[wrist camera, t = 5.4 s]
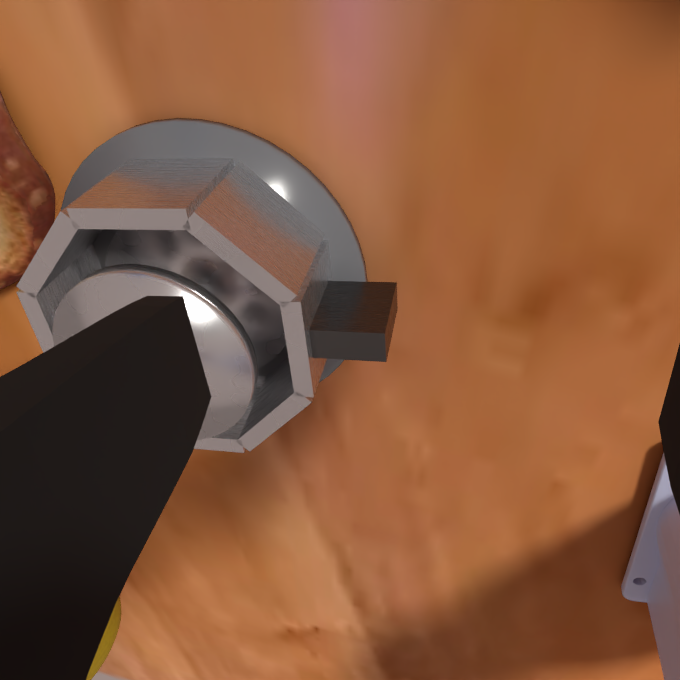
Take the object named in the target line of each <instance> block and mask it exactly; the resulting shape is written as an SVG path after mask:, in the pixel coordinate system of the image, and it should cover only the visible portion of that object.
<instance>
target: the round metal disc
mask: <svg viewBox="0 0 680 680" xmlns="http://www.w3.org/2000/svg"><path fill="white" fill-rule="evenodd" d="M183 158H233V161H234V166H236V165H237V163H238V162H239V161H241V162H242V163H243V164H245V165H246V166H247V167H248V168H249V169H250V170H252V171H253V172H254V173H255V174H256V175H257V176H259V177H260V178H261V179H262V180H263V181H264V182H265V183H267V184H268V185H269V186H270V187H271V188H272V189H274V190H275V191H276V192H277V193H278V194H279V195H281V196H282V197H283V198H284V199H285V200H286V201H287V202H289V203H290V204H291V205H292V206H293V207H294V208H296V209H297V210H298V211H299V212H300V213H301V214H303V215H304V216H305V217H306V218H307V219H308V220H309V221H311V222H312V223H313V224H314V225H315V226H316V227H318V228H319V229H320V230H321V231H322V232H323V233H325V235H324V238H323V240H328V241H329V251H330V261H331V271H332V281H356V282H367V274H366V267H365V261H364V257H363V254H362V250H361V247H360V243H359V241H358V238H357V236H356V234H355V232H354V229H353V227H352V225H351V223H350V221H349V219H348V218H347V216H346V214H345V213H344V211H343V209H342V208H341V206H340V204H339V203H338V202H337V200H336V199H335V198H334V197H333V195H332V194H331V193H330V191H329V190H328V189H327V188H326V186H325V185H324V184H323V183H322V182H321V181H320V180H319V179H318V178H317V177H316V176H315V175H314V174H313V173H312V172H311V171H310V170H309V169H308V168H307V167H305V166H304V165H303V164H302V163H300V162H299V161H298V160H296V159H295V158H294V157H293V156H291V155H290V154H289V153H287V152H286V151H284V150H282V149H281V148H279V147H277V146H276V145H274V144H273V143H271V142H269V141H268V140H265V139H263V138H261V137H259V136H257V135H255V134H252V133H250V132H248V131H246V130H243V129H239V128H236V127H233V126H230V125H227V124H224V123H219V122H213V121H208V120H202V119H186V118H174V119H164V120H155V121H152V122H148V123H144V124H140V125H136V126H134V127H132V128H130V129H127V130H125V131H123V132H121V133H118V134H117V135H115V136H114V137H112V138H111V139H109V140H108V141H106V142H105V143H103V144H102V145H101V146H99V147H98V148H96V149H95V150H94V151H93V152H92V153H91V154H90V155H89V156H88V157H87V158H86V159H85V160H84V161H83V162H82V164H81V165H80V167H79V168H78V169H77V171H76V172H75V174H74V175H73V177H72V179H71V181H70V183H69V186H68V188H67V190H66V192H65V196H64V200H63V204H62V207H61V211H62V210H63V209H64V208H65V207H67V206H68V205H69V204H71V203H72V202H73V201H75V200H76V199H77V198H79V197H80V196H81V195H82V194H84V193H85V192H86V191H88V190H89V189H90V188H92V187H93V186H94V185H96V184H97V183H98V182H99V181H101V180H102V179H103V178H105V177H106V176H107V175H109V174H110V173H111V172H113V171H114V170H115V169H117V168H118V167H119V166H120V165H122V164H123V163H124V162H127V161H129V160H130V159H183ZM343 360H344V359H327V360H326V363H325V366H324V369H323V372H322V375H321V377H320V380H319V382H321V381H322V380H323V379H325V378H326V377H328V376H329V375H330V374H331V373H332V372H333V371H334V370H335V369H336V368H337V367H338V366H340V364H341V363H342V362H343Z"/></svg>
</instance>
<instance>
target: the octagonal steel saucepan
mask: <svg viewBox="0 0 680 680" xmlns="http://www.w3.org/2000/svg"><path fill="white" fill-rule="evenodd" d="M119 229H123V230H187V231H188V232H189V233H190V234H192V235H193V236H194V237H195V238H197V239H198V240H199V241H200V242H202V243H203V244H204V245H205V246H207V247H208V248H209V249H210V250H212V251H213V252H214V253H215V254H217V255H218V256H219V257H220V258H222V259H223V260H224V261H225V262H227V263H228V264H229V265H230V266H232V267H233V268H234V269H235V270H237V271H238V272H239V273H240V274H241V275H243V276H244V277H245V278H246V279H248V280H249V281H250V282H251V283H253V284H254V285H255V286H256V287H258V288H259V289H260V290H261V291H263V292H264V293H265V294H266V295H268V296H269V297H270V298H271V299H273V300H274V301H275V302H276V303H278V304H279V305H280V308H281V315H282V321H283V327H284V333H285V339H286V345H285V346H284V348H283V349H282V351H281V352H280V353H279V354H278V355H277V356H276V357H275V358H274V359H273V360H271V361H270V362H269V363H268V364H266V365H264V366H262V367H260V368H259V369H258V380H257V385H256V389H255V392H254V394H253V396H252V399H251V401H250V403H249V405H248V407H247V409H246V411H245V413H244V414H243V416H242V417H241V419H240V420H239V421H238V422H237V423H236V424H235V425H234V426H232V427H231V428H230V429H228V430H227V431H225V432H223V433H221V434H219V435H217V436H214V437H211V438H207V439H202V440H197V441H196V444H195V446H194V449H205V450H216V451H228V452H239V453H245V450H246V449H247V450H248V451H251V450H253V449H254V448H255V447H256V446H258V445H259V444H260V443H261V442H263V441H264V440H265V439H266V438H268V437H269V436H270V435H271V434H273V433H274V432H275V431H276V430H278V429H279V428H280V427H281V426H283V425H284V424H285V423H286V422H288V421H289V420H290V419H291V418H293V417H294V416H295V415H296V414H298V413H299V412H300V411H302V410H303V409H304V408H305V407H307V406H308V405H309V404H310V403H312V400H313V397H314V395H315V392H316V389H317V386H318V383H319V380H320V377H321V375H322V372H323V369H324V366H325V363H326V360H327V359H344V360H362V361H381V362H386V361H387V356H388V351H389V347H390V342H391V337H392V332H393V328H394V323H395V318H396V313H397V283H393V282H356V281H332V271H331V261H330V251H329V241H328V240H323V238H324V235H325V233H323V232H322V231H321V230H320V229H319V228H318V227H316V226H315V225H314V224H313V223H312V222H311V221H309V220H308V219H307V218H306V217H305V216H304V215H303V214H301V213H300V212H299V211H298V210H297V209H296V208H294V207H293V206H292V205H291V204H290V203H289V202H287V201H286V200H285V199H284V198H283V197H282V196H281V195H279V194H278V193H277V192H276V191H275V190H274V189H272V188H271V187H270V186H269V185H268V184H267V183H265V182H264V181H263V180H262V179H261V178H260V177H259V176H257V175H256V174H255V173H254V172H253V171H252V170H250V169H249V168H248V167H247V166H246V165H245V164H243V163H242V162H241V161H239V162H238V163H237V165H236V166H234V161H233V158H183V159H130V160H129V161H127V162H124V163H123V164H122V165H120V166H119V167H118V168H117V169H115V170H114V171H113V172H111V173H110V174H109V175H107V176H106V177H105V178H103V179H102V180H101V181H99V182H98V183H97V184H96V185H94V186H93V187H92V188H90V189H89V190H88V191H86V192H85V193H84V194H82V195H81V196H80V197H79V198H77V199H76V200H75V201H73V202H72V203H71V204H69V205H68V206H67V207H65V208H64V209H63V210H62V211H60V213H59V215H58V216H57V218H56V220H55V222H54V223H53V225H52V227H51V228H50V230H49V232H48V233H47V235H46V237H45V239H44V240H43V242H42V244H41V245H40V247H39V249H38V250H37V252H36V254H35V256H34V257H33V259H32V261H31V262H30V264H29V266H28V267H27V269H26V271H25V273H24V274H23V276H22V278H21V279H20V281H19V283H18V284H17V287H18V288H19V289H20V290H19V291H17V295H18V297H19V299H20V301H21V303H22V306H23V308H24V310H25V312H26V315H27V317H28V319H29V321H30V324H31V326H32V328H33V330H34V332H35V335H36V337H37V339H38V341H39V344H40V346H41V348H42V350H43V353H44V352H46V351H47V350H49V349H51V348H53V347H54V342H53V333H52V327H53V319H54V315H55V312H56V309H57V307H58V305H59V303H60V302H61V300H62V299H63V298H64V297H65V295H66V294H67V293H68V292H69V291H70V290H71V289H72V288H73V287H74V286H75V285H76V284H77V283H78V282H79V281H81V280H82V279H83V278H84V277H86V276H87V275H89V274H90V273H92V272H94V271H96V270H99V269H101V268H104V267H105V259H106V253H107V250H108V247H109V245H110V242H111V241H112V239H113V237H114V235H115V234H116V233H117V231H118V230H119Z"/></svg>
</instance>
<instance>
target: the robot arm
mask: <svg viewBox="0 0 680 680" xmlns="http://www.w3.org/2000/svg"><path fill="white" fill-rule="evenodd" d="M210 400H211V393H210V390H209V386H208V383H207V379H206V376H205V372H204V369H203V365H202V362H201V358H200V355H199V351H198V348H197V344H196V341H195V337H194V334H193V330H192V327H191V323H190V320H189V316H188V313H187V309H186V306H185V302H184V298H183V296H146V297H143V298H141V299H139V300H137V301H134V302H132V303H130V304H128V305H126V306H124V307H123V308H121V309H119V310H117V311H115V312H113V313H111V314H110V315H108V316H106V317H104V318H103V319H101V320H99V321H97V322H96V323H94V324H92V325H90V326H89V327H87V328H85V329H83V330H82V331H80V332H78V333H77V334H75V335H73V336H71V337H70V338H68V339H66V340H65V341H63V342H61V343H59V344H58V345H56V346H54V347H53V348H51V349H49V350H47V351H46V352H44V353H42V354H41V355H39V356H37V357H35V358H34V359H32V360H30V361H28V362H27V363H25V364H23V365H21V366H20V367H18V368H16V369H14V370H12V371H10V372H9V373H7V374H5V375H3V376H1V377H0V680H86V678H87V675H88V673H89V670H90V667H91V665H92V662H93V660H94V657H95V655H96V652H97V650H98V647H99V644H100V642H101V639H102V637H103V634H104V632H105V629H106V627H107V624H108V622H109V619H110V617H111V614H112V612H113V609H114V607H115V604H116V602H117V600H118V598H119V595H120V593H121V591H122V589H123V587H124V585H125V583H126V580H127V578H128V576H129V574H130V572H131V570H132V568H133V566H134V564H135V562H136V561H137V559H138V557H139V555H140V553H141V551H142V549H143V547H144V545H145V543H146V541H147V539H148V538H149V536H150V534H151V532H152V530H153V528H154V526H155V524H156V522H157V520H158V518H159V516H160V514H161V513H162V511H163V509H164V507H165V505H166V503H167V501H168V499H169V497H170V495H171V493H172V491H173V489H174V487H175V486H176V484H177V482H178V480H179V478H180V476H181V474H182V472H183V470H184V468H185V466H186V464H187V462H188V460H189V458H190V456H191V454H192V452H193V449H194V446H195V444H196V441H197V438H198V435H199V433H200V430H201V427H202V424H203V421H204V418H205V415H206V412H207V409H208V406H209V403H210ZM659 427H660V433H661V439H662V445H663V451H664V453H663V456H662V459H661V462H660V465H659V469H658V472H657V475H656V478H655V481H654V484H653V487H652V491H651V494H650V497H649V500H648V503H647V506H646V510H645V513H644V516H643V519H642V522H641V525H640V529H639V532H638V535H637V538H636V541H635V544H634V548H633V551H632V554H631V557H630V560H629V563H628V566H627V570H626V573H625V576H624V579H623V582H622V585H621V590H622V595H623V596H624V598H626V599H628V600H631V601H638V602H646V603H647V604H648V608H649V613H650V617H651V622H652V626H653V631H654V635H655V640H656V644H657V649H658V653H659V658H660V662H661V667H662V671H663V676H664V680H680V345H679V348H678V352H677V356H676V360H675V363H674V367H673V371H672V374H671V378H670V382H669V385H668V389H667V393H666V396H665V400H664V404H663V407H662V411H661V415H660V418H659Z"/></svg>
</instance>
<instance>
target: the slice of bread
mask: <svg viewBox="0 0 680 680" xmlns="http://www.w3.org/2000/svg"><path fill="white" fill-rule="evenodd" d="M54 218H55V193H54V188H53V185H52V183H51V180H50V178H49V176H48V174H47V173H46V171H45V170H44V169H43V167H42V166H41V165H40V164H39V163H38V162H37V160H36V159H35V158H34V156H33V155H32V153H31V151H30V150H29V148H28V146H27V145H26V143H25V141H24V140H23V138H22V136H21V134H20V133H19V131H18V129H17V127H16V125H15V124H14V122H13V120H12V118H11V116H10V114H9V112H8V110H7V107H6V105H5V102H4V100H3V97H2V94H1V92H0V289H2V288H5V287H7V286H9V285H11V284H13V283H15V282H16V281H18V280H20V279H21V278H22V276H23V274H24V273H25V271H26V269H27V267H28V266H29V264H30V262H31V261H32V259H33V257H34V256H35V254H36V252H37V250H38V249H39V247H40V245H41V244H42V242H43V240H44V239H45V237H46V235H47V233H48V232H49V230H50V228H51V227H52V225H53V223H54Z"/></svg>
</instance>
